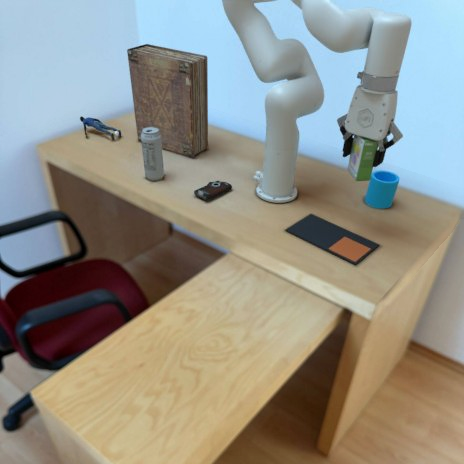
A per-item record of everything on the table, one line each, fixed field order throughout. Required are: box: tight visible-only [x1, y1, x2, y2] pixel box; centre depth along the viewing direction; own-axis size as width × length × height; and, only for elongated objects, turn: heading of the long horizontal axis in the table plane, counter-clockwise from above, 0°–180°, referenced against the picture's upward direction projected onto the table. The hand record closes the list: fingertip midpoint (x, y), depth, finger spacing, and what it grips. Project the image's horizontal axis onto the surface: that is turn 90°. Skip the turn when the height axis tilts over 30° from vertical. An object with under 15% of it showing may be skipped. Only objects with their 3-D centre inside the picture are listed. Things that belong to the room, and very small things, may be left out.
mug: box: [364, 169, 401, 210], centre depth 132 cm, size 12×8×8 cm
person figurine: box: [79, 116, 122, 142], centre depth 163 cm, size 11×4×18 cm
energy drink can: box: [140, 127, 165, 182], centre depth 135 cm, size 6×6×15 cm
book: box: [126, 43, 209, 159], centre depth 149 cm, size 25×9×30 cm, turn 57°
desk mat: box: [285, 213, 380, 266], centre depth 118 cm, size 22×12×1 cm, turn 47°
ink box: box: [347, 134, 379, 182], centre depth 106 cm, size 7×4×13 cm, turn 6°
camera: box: [193, 180, 233, 201], centre depth 133 cm, size 6×3×11 cm
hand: (361, 160), depth 107 cm, fingers closed on ink box, 7 cm apart
